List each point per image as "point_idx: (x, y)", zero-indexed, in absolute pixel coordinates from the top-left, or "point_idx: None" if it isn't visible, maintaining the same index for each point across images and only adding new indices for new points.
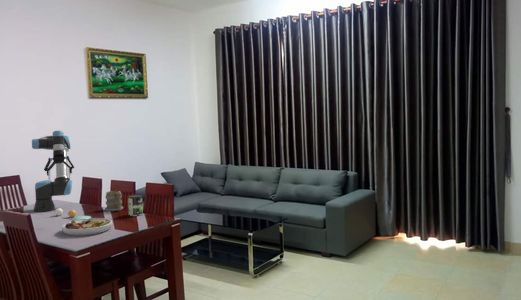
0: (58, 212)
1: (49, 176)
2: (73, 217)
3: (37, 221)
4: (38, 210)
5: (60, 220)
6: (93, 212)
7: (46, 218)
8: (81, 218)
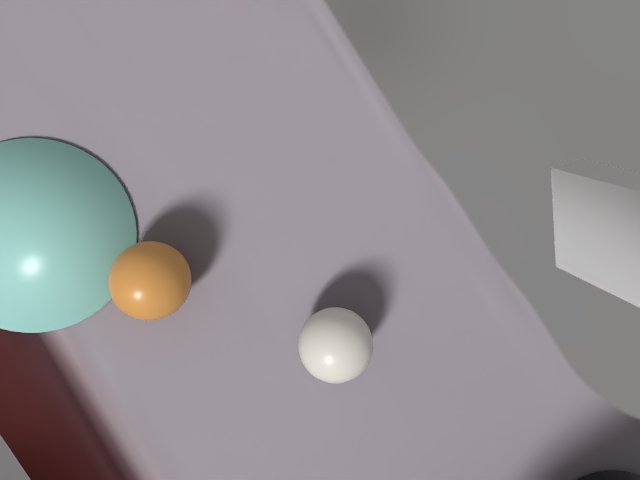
0: (321, 311)
1: (633, 187)
2: None
3: (387, 102)
4: (615, 475)
5: (196, 141)
6: None
7: (377, 217)
8: (13, 213)
